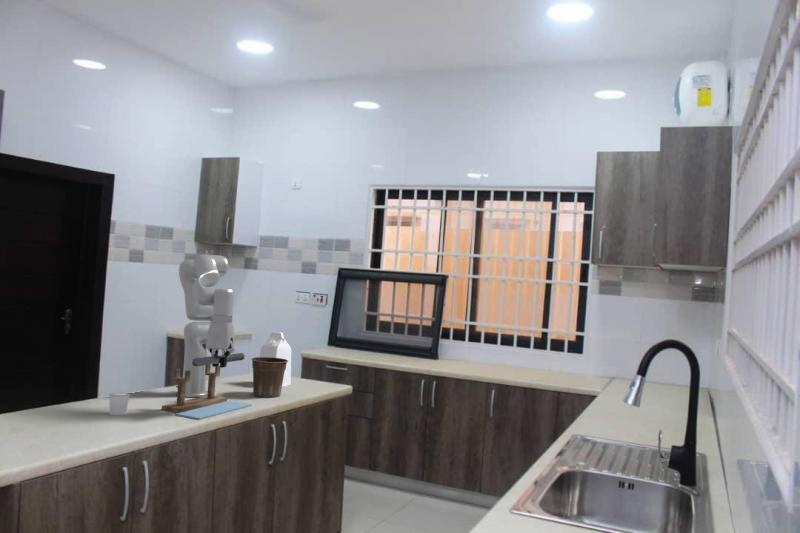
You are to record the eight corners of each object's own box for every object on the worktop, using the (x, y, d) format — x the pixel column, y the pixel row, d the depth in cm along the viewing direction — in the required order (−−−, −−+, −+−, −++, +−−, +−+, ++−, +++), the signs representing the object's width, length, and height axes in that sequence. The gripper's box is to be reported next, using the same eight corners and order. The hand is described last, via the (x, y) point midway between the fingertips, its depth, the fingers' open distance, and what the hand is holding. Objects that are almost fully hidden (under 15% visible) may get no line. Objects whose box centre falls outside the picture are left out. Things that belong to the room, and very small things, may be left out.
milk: (290, 385, 312) (294, 333, 313) (274, 388, 302) (278, 333, 303) (272, 382, 318) (276, 330, 319) (256, 384, 309) (260, 331, 309)
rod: (198, 366, 234) (199, 358, 234) (191, 365, 235) (192, 357, 235) (244, 360, 260) (244, 353, 260) (238, 359, 261) (238, 352, 261)
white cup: (106, 415, 228) (107, 395, 228) (109, 411, 235) (111, 392, 235) (126, 415, 230) (128, 396, 230) (129, 411, 237) (130, 392, 237)
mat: (175, 415, 235) (175, 413, 235) (229, 402, 264) (229, 400, 264) (199, 419, 231) (199, 418, 231) (251, 405, 260) (251, 404, 260)
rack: (161, 409, 243) (164, 370, 243) (209, 398, 268) (212, 362, 269) (180, 413, 239) (183, 372, 239) (226, 401, 265) (229, 365, 265)
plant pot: (289, 393, 292) (292, 358, 292) (279, 400, 276) (282, 363, 276) (255, 390, 293) (258, 355, 294) (243, 396, 277) (246, 360, 278)
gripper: (199, 318, 248) (196, 365, 247) (233, 321, 241) (230, 369, 241) (211, 318, 255) (208, 364, 254) (245, 321, 248) (242, 368, 248)
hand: (219, 366), depth 247 cm, fingers closed on rod, 3 cm apart
